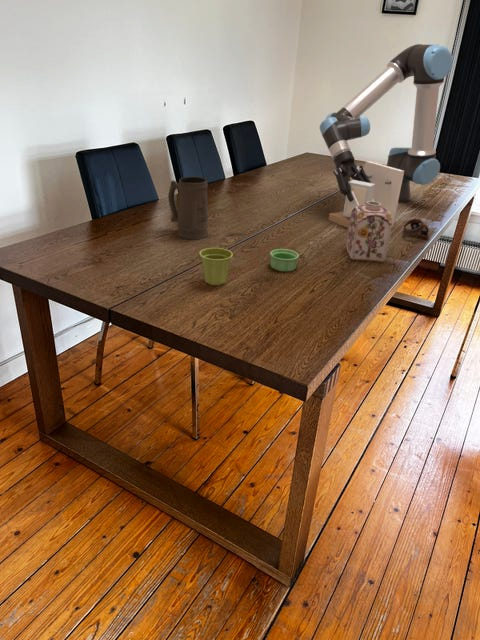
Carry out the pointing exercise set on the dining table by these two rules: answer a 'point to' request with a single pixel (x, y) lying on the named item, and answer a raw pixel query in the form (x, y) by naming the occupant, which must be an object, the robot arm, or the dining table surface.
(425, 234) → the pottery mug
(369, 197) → the white block
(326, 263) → the dining table surface
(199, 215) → the beer stein
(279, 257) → the ramekin
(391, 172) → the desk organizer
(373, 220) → the decorative jar
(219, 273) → the plant pot
